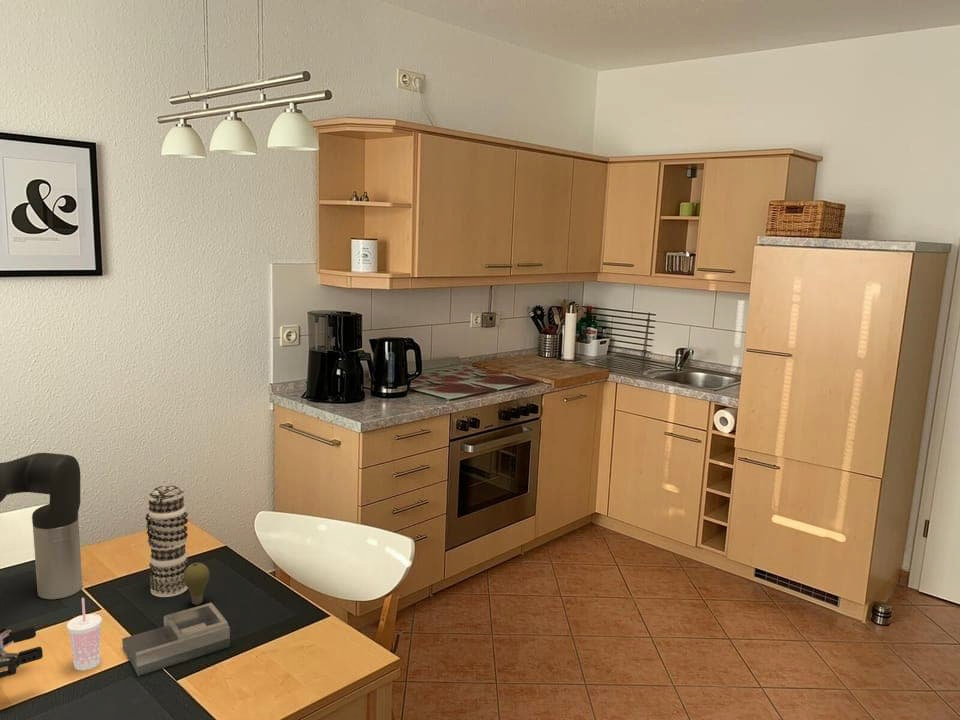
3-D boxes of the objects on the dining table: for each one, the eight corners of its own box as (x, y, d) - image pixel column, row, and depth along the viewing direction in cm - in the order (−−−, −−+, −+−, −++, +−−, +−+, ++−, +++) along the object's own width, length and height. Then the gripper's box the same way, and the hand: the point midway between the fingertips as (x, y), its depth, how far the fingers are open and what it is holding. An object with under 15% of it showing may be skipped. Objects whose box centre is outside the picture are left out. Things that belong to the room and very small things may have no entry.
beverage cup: (111, 659, 149) (107, 595, 147) (83, 676, 144) (79, 609, 141) (90, 651, 152) (86, 587, 149) (62, 667, 146) (57, 601, 144)
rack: (122, 647, 154) (121, 625, 153) (210, 621, 165) (210, 600, 164) (137, 676, 144) (136, 652, 143) (230, 646, 155) (229, 624, 154)
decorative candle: (155, 602, 172) (150, 499, 167) (144, 586, 179) (139, 487, 174) (195, 591, 177) (192, 491, 173) (183, 575, 184) (179, 479, 180)
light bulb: (201, 612, 168) (200, 570, 166) (179, 608, 169) (177, 567, 167) (215, 600, 174) (213, 560, 172) (193, 596, 175) (192, 557, 173)
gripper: (-67, 670, 125) (43, 640, 135) (-71, 632, 136) (31, 607, 146) (-63, 710, 127) (46, 677, 137) (-67, 669, 138) (34, 641, 148)
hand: (38, 641), depth 142 cm, fingers open, 8 cm apart
